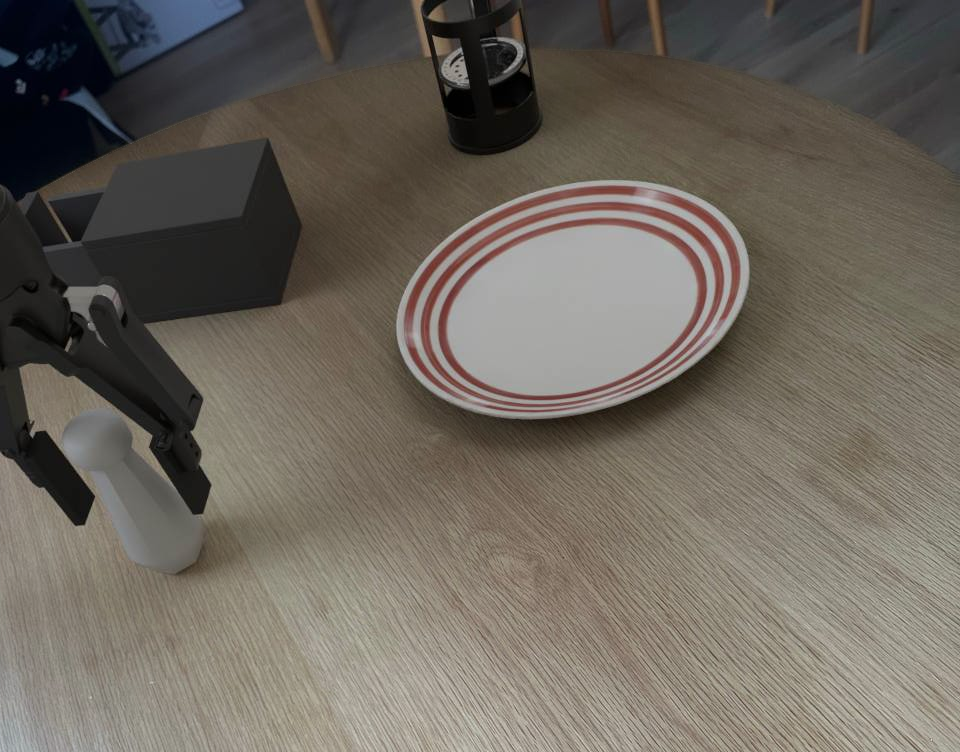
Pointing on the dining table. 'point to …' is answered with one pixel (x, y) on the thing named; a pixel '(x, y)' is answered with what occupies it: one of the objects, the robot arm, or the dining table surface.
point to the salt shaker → (134, 493)
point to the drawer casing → (196, 231)
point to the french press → (485, 79)
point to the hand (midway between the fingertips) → (143, 505)
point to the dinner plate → (573, 299)
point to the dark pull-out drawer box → (75, 220)
